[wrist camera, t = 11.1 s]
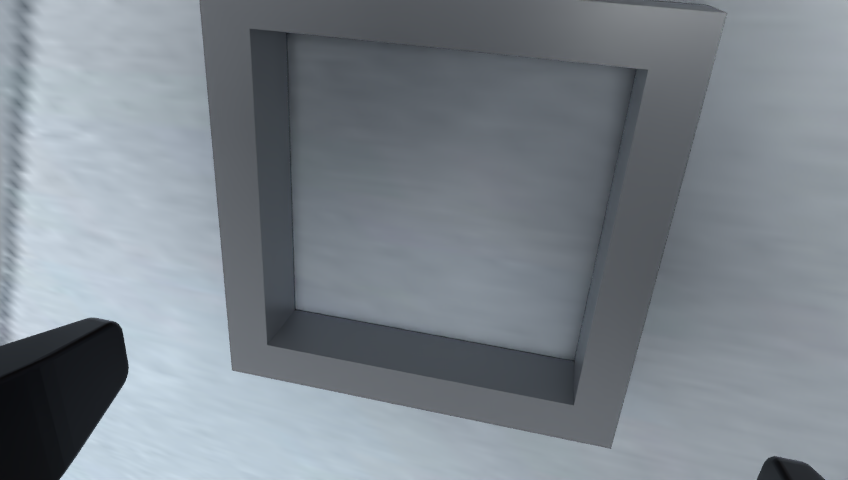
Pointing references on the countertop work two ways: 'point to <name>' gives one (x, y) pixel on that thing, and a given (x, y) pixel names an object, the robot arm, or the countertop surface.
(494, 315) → the countertop surface
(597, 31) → the cup holder
